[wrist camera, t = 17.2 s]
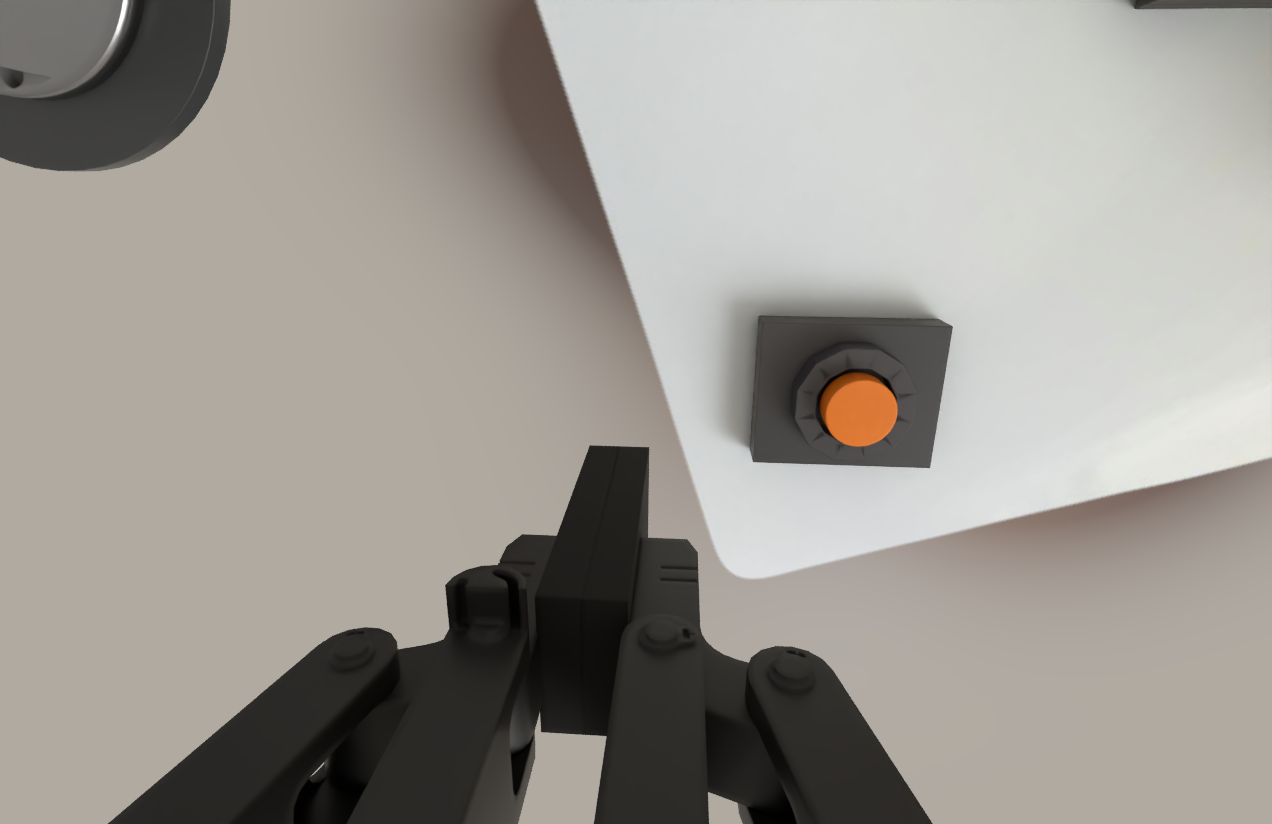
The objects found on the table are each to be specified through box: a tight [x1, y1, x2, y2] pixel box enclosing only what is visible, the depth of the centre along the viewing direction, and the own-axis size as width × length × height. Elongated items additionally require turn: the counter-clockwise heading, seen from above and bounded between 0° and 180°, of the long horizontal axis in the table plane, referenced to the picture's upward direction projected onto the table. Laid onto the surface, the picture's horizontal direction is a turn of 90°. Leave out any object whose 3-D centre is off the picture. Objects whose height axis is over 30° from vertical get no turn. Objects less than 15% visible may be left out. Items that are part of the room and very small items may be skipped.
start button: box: [820, 372, 898, 447], centre depth 39 cm, size 4×4×2 cm
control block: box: [750, 316, 953, 468], centre depth 41 cm, size 11×9×4 cm
